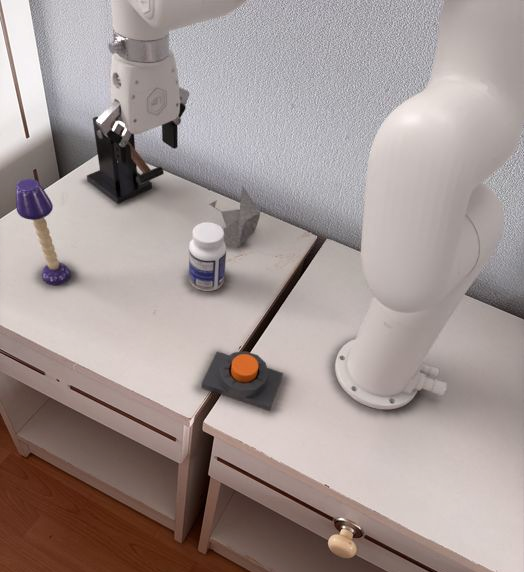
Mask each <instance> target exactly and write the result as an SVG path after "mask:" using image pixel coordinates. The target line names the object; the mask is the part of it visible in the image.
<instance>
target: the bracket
mask: <svg viewBox="0 0 524 572" xmlns="http://www.w3.org/2000/svg"><path fill="white" fill-rule="evenodd" d="M99 117H100V116H95V117H92V125H93V132H94V138H95V139H94V140H95V146H96V152H97V159H98V166H99V170H97V171H94V172H91V173H89V174H87V175H86V180H87V182H88V183H90V185H92V186H93V187H95V188H96V189H97V190H98V191H100V192H101V193H102V194H104V195H105V196H106V197H108V198H109V199H110V200H112V201H113V202H114V203H116V204H117V205H120V204H122V203H124V202H127V201H128V200H130V199H132V198H135V197H137V196H139V195H141V194H143V193H145V192H148V191H149V190H152V189H153V182H152V181H151V180H150V181H148V182H146V183H143V184H141V185H139V184H138V183H137V181H136V177H137V176H139V175H141V173H139V172H138V166H137V165H136V164H135V162H134V161H133V160H132V159H131V160H132V166H131V168H129V169H127V168H126V167H125V166H123V165H122V164H121V163H119V162H118V161H117V160H116V158H115V150H114V141H112V140H111V139H109V138H108V137H107V136H105V135H104V134H103V133H102V131H101V130H100V128H99V127H98V125H97V124H96V120H97V119H98V118H99ZM111 128H113V127H112V126H111ZM128 141H129V143H130V144H131V145H132V146H133V148H134V149H135V150H136V142H135V134H131V136H130V138H129V140H128Z"/></svg>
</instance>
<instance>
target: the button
mask: <svg viewBox="0 0 524 572" xmlns="http://www.w3.org/2000/svg"><path fill="white" fill-rule="evenodd" d="M257 372H258V362H257V360H256V359H255V358H254V357H253V356H251V355H247V354H241V355H238V356H236V357H235V358H234V359H233V361H232V366H231V374H232V376H233V378H234V379H235V380H237V381H239V382H242V383H248V382H251V381H253V380H254V379H255V378H256V376H257Z"/></svg>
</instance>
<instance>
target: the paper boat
mask: <svg viewBox="0 0 524 572" xmlns="http://www.w3.org/2000/svg"><path fill="white" fill-rule="evenodd" d="M217 202H218V199H217V200H214V201H213V202H211V203H209V204H208V205H210V206H211V207H212V208H214V209H215V210H217V211H219V212H220V213H221V216H222V219H223V222H224V225H225V227H224V228H222V229H223V231H224V242H225V244H226V247H232V248H239V247H240V246H242V245H243V244H245V243H246V241H248V239H250V238H251V236H253V235H254V234H255V231H256V229H257V226H258V224H259V220H260V217H261V210H260V208H259V207H258V206H257V204H256V203H255V201H254V200H253V199H252V197H251V195H250V194H249V193H248V191H247V190H246V188H245V186H243V185H241V193H240V203H239V209H231V210H220V209H218V208H216V205H217Z"/></svg>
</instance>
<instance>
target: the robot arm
mask: <svg viewBox="0 0 524 572" xmlns="http://www.w3.org/2000/svg"><path fill="white" fill-rule="evenodd" d="M246 2H248V0H110V7H111V8H110V11H111V21H112V34H113V35H112V37H113V40H112V41H111V42H109V43H108V45H107V46H108V47H107V48H108V50H109V52H110V54H112V56H111V63H110V105H109V106H108V107H107V108H106V109H105V110H104V111H103V112H102V113H101V114H100V115H99V116H98V117H99V118H98V119H97V120H96V124H97V125H98V127H99V128H100V130H101V131H102V133H103V134H104V135H105V136H107V137H108V138H109V139H111V140H112V141H114V150H115V158H116V160H117V163H118V162H119V163H121V164H122V165H123V166H125V167H126V168H127V169H129V168H131V166H132V160H131V148H130V145H129V144H127V142H128V140H129V138H130V136H131V134H134V135H140V134H142V133H145V132H147V131H151V130H153V129H156V128H159V127H160V126H161V141H162V142H163V143H164V144H166V145H167V146H168V147H170V148H171V149H174V150H176V149H178V145H179V144H178V139H179V138H178V137H179V135H178V133H179V131H178V128H179V127H178V126H179V125H181V123H182V118H181V117H182V116H183V114H184V113H185V111H186V108H187V107H186V105H187V103H188V100H189V97H190V91H188V90H187V89H185V88H183V87H181V86H180V83H179V75H178V67H177V63H176V58H175V54H174V52H173V50H172V49H170V31H174V30H178V29H183V28H186V27H190V26H192V25H196V24H199V23H203V22H206V21H210V20H214V19H218V18H221V17H224V16H227V15H229V14H230V13H233V12H234V11H235V10H237V9H238V8H239V7H241V6H242V5H244V4H245V3H246ZM437 27H438V28H437V39H436V46H435V51H434V56H433V57H434V58H433V63H432V67H431V72H430V75H429V78H428V82H427V85H426V86H425V88H424V89H423V90H422V91H419V92H417V94H415V95H413V96H411V97H410V98H408V99H406V100H405V101H403V102H402V103H401V104H399V105H398V106H397V107H396V108H394V109H393V110H392V111H391V112H390V113H389V114H388V116H387V117H385V119H384V120H383V122H382V123H381V125H380V126H379V128H378V130H377V132H376V134H375V137H374V139H373V142H372V144H371V147H370V151H369V155H368V159H367V168H366V175H365V187H364V188H365V189H364V202H363V216H362V229H361V230H362V231H361V244H360V263H361V264H360V265H361V270H362V275H363V279H364V281H365V283H366V286H367V288H368V290H369V291H370V293H371V294H372V295H373V297H372V299H371V302H370V304H369V307H368V309H367V311H366V314H365V316H364V319H363V320H362V324H361V325H360V328H359V331H358V333H357V335H356V338H353V339H351V340H349V341H348V342H346V343H345V344H344V345H342V347H341V348H340V349H339V351H338V354H337V355H336V358H335V363H334V370H335V376H336V379H337V381H338V383H339V384H340V385H339V386H341V388H342V389H343V390H344V391H345V393H346V394H347V395H349V396H350V397H351V398H352V399H353V400H354V401H356V402H358V403H360V404H361V405H363V406H367V407H369V408H373V409H377V410H395V409H399V408H402V407H404V406H405V405H407V404H409V403H410V402H411V401H412V400H414V398H415V396H416V395H417V393H418V391H421V390H426V391H428V392H429V393H431V394H435V395H439V396H441V397H442V396H444V395H445V394H446V391H447V387H448V383H447V382H445V381H441V380H439V379H436V378H438V377H439V374H440V368H438V367H434V366H431V365H426V364H425V362H424V360H425V358H426V357H427V356H428V354H429V352H430V350H431V349H432V347H433V346H434V344H435V343H436V341H437V339H438V337H439V336H440V334H441V333H442V332H443V330H444V328H445V326H446V325H447V323H448V321H449V320H450V319H451V317H452V315H453V314H454V312H455V311H456V309H457V307H458V306H459V304H460V302H461V301H462V300H463V298H464V296H465V295H466V293H467V292H468V290H469V289H470V287H471V286H472V285H473V283H474V282H475V280H476V279H477V277H479V274H481V272H482V270H483V269H484V267H486V265H487V263H488V262H489V260H490V259H491V258H492V256H493V254H494V253H495V251H496V249H497V247H498V246H499V243H500V241H501V239H502V237H503V233H504V228H505V212H504V207H503V203H502V202H501V199H500V198H499V196H498V195H497V193H496V192H495V191H494V190H493V189H492V188H491V187H490V186H488V185H487V184H485V183H484V182H485V180H487V179H488V178H489V177H491V176H492V175H493V174H494V173H495V172H496V171H498V170H499V169H500V168H501V167H502V166H503V165H504V164H505V163H506V162H507V161H508V160H509V159H510V157H511V156H512V155H513V153H514V152H515V150H516V148H517V147H518V144H519V142H520V138H521V135H522V132H523V128H524V0H443V3H442V7H441V11H440V16H439V21H438V26H437ZM113 121H115V124H114V126H113V128H111V123H112V122H113ZM122 127H124V128H125V129H124V131H123V133H122V135H121V136H120V135H119V134H120V132H121V130H122ZM426 375H427V376H429V377H427V376H426ZM430 377H432V378H430ZM433 378H434V379H433Z"/></svg>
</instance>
